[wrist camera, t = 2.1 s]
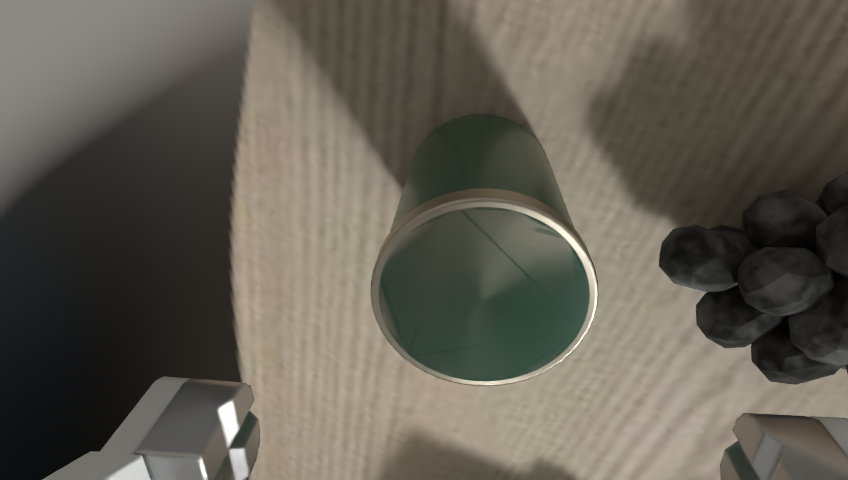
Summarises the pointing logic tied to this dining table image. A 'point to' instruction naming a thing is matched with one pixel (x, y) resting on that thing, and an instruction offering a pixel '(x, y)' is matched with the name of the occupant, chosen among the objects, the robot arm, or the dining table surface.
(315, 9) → the dining table surface
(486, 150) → the tin
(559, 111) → the dining table surface
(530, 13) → the dining table surface
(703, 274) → the fruit
